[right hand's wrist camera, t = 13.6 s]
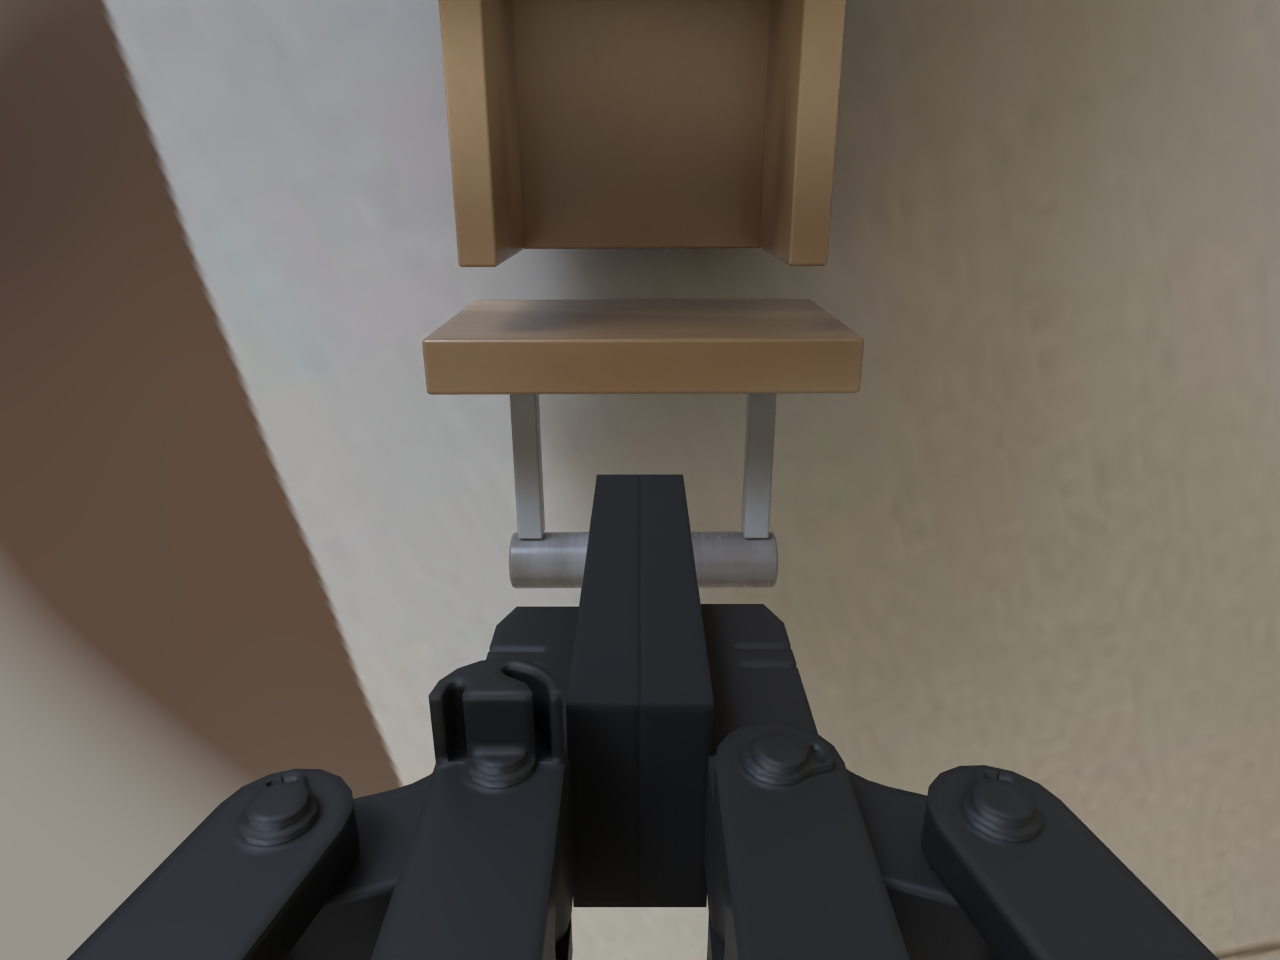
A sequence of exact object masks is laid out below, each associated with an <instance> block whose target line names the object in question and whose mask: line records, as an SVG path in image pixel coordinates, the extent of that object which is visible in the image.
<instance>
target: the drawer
mask: <svg viewBox="0 0 1280 960" xmlns="http://www.w3.org/2000/svg"><path fill="white" fill-rule="evenodd" d="M845 7H846V0H439V10H440V23H441V36H442V50H443V63H444V76H445V89H446V102H447V115H448V128H449V141H450V155H451V168H452V181H453V194H454V207H455V220H456V233H457V247H458V260H459V265H460V266H461V267H495V266H497V265H499V264H501V263H502V262H504V261H505V260H507V259H508V258H510V257H512V256H513V255H515V254H516V253H518V252H519V251H521V250H523V249H604V248H762V249H764V250H765V251H767V252H769V253H770V254H772V255H774V256H775V257H777V258H779V259H781V260H782V261H784V262H786V263H787V264H789V265H791V266H824V265H826V263H827V257H828V243H829V229H830V215H831V201H832V187H833V174H834V160H835V146H836V132H837V118H838V104H839V90H840V76H841V62H842V48H843V35H844V21H845ZM422 344H423V355H424V365H425V376H426V387H427V392H428V394H431V395H442V394H510V406H511V423H512V440H513V457H514V474H515V491H516V508H517V525H518V533H514V534H513V536H512V539H511V543H510V554H509V571H510V580H511V584H512V586H513V587H514V588H582V582H583V575H584V568H585V560H586V553H587V546H588V538H589V532H544V530H545V520H544V498H543V477H542V455H541V434H540V412H539V394H719V393H747V414H746V437H745V461H744V485H743V509H742V531H743V532H691V538H692V546H693V553H694V560H695V568H696V575H697V582H698V588H703V587H773V586H774V585H775V583H776V579H777V571H778V553H777V543H776V539H775V536H774V533H772V532H769V520H770V502H771V484H772V465H773V447H774V428H775V410H776V393H857V392H859V390H860V381H861V370H862V359H863V347H864V340H863V338H862V337H860V336H859V335H858V334H856V333H855V332H854V331H852V330H851V329H849V328H848V327H847V326H845V325H844V324H843V323H841V322H840V321H838V320H837V319H836V318H834V317H833V316H832V315H830V314H829V313H827V312H826V311H825V310H823V309H822V308H821V307H819V306H818V305H816V304H815V303H814V302H812V301H811V300H809V299H637V300H476V301H474V302H472V303H471V304H470V305H469V306H467V307H466V308H465V309H463V310H462V311H461V312H459V313H458V314H457V315H455V316H454V317H453V318H452V319H450V320H449V321H448V322H446V323H445V324H444V325H442V326H441V327H440V328H438V329H437V330H436V331H435V332H433V333H432V334H431V335H429V336H428V337H427V338H425V339H424V340H423V343H422Z"/></svg>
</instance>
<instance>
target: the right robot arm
mask: <svg viewBox="0 0 1280 960" xmlns="http://www.w3.org/2000/svg"><path fill="white" fill-rule="evenodd" d="M429 704H430V713H431V722H432V731H433V740H434V750H435V759H436V765H435V768H434V771H433V773H432V774H431V775H429V776H427V777H425V778H423V779H421V780H419V781H417V782H415V783H413V784H410V785H407V786H403V787H400V788H397V789H394V790H390V791H386V792H382V793H378V794H373V795H369V796H365V797H360V798H356V799H353V796H352V790H351V789H350V788H349V787H348V785H347V784H346V783H345V782H344V781H343V779H342V778H341V777H339V776H337V775H334V774H331V773H329V772H326V771H323V770H319V769H293V770H288V771H284V772H279V773H275V774H270V775H267V776H265V777H263V778H261V779H258V780H256V781H254V782H252V783H250V784H248V785H245V786H243V787H241V788H240V789H239V790H238V791H236V792H235V793H234V794H232V795H231V796H230V797H229V798H227V799H226V800H225V801H223V802H222V803H221V804H220V805H219V806H218V807H217V808H216V809H215V810H214V811H213V812H212V813H211V814H210V815H209V816H208V817H207V818H206V819H205V820H204V821H203V822H202V823H201V824H200V825H199V826H198V827H197V828H196V829H195V830H194V831H193V832H192V833H191V834H190V835H189V836H188V837H187V838H186V839H185V840H184V841H183V842H182V843H181V844H180V845H179V846H178V847H177V848H176V849H175V850H174V851H173V852H172V853H171V854H170V855H169V856H168V857H167V859H165V860H164V861H163V863H161V865H160V866H159V867H158V868H157V869H156V870H155V871H154V872H153V873H152V874H151V875H150V876H149V877H148V878H147V879H146V880H145V881H144V882H143V883H142V884H141V885H140V886H139V887H138V888H137V889H136V890H135V891H134V892H133V893H132V894H131V895H130V896H129V897H128V898H127V899H126V900H125V901H124V902H123V903H122V904H121V905H120V906H119V907H118V908H117V909H116V910H115V911H114V912H113V913H112V914H111V915H110V916H109V917H108V918H107V919H106V920H105V921H104V922H103V923H102V924H101V925H100V926H99V927H98V928H97V929H96V931H95V932H94V933H93V934H92V935H91V936H90V937H89V938H88V939H87V940H86V941H85V942H84V943H83V944H82V945H81V946H80V947H79V948H78V949H77V950H76V951H75V952H74V953H73V954H72V955H71V956H70V957H69V958H68V959H67V960H572V951H573V950H572V925H571V912H572V901H573V904H574V907H706V904H707V897H708V908H709V925H708V950H707V960H1219V959H1218V958H1217V957H1216V956H1215V955H1214V954H1213V953H1212V952H1211V951H1210V950H1209V949H1208V948H1207V947H1206V946H1205V945H1204V944H1203V943H1202V942H1201V941H1200V940H1199V939H1198V938H1197V937H1196V936H1195V935H1194V934H1193V933H1192V932H1191V931H1190V930H1189V929H1188V928H1187V927H1186V926H1185V925H1184V924H1183V923H1182V922H1181V921H1180V920H1179V919H1178V918H1177V917H1176V916H1175V915H1174V914H1173V913H1172V912H1171V911H1170V910H1169V909H1168V908H1167V907H1166V906H1165V905H1164V904H1163V903H1162V902H1161V901H1160V900H1159V899H1158V898H1157V897H1156V896H1155V895H1154V894H1153V893H1152V892H1151V891H1150V890H1149V889H1148V888H1147V887H1146V886H1145V885H1144V884H1143V883H1142V882H1141V881H1140V880H1139V879H1138V878H1137V877H1136V876H1135V875H1134V874H1133V873H1132V872H1131V871H1130V870H1129V869H1128V868H1127V867H1126V866H1125V865H1124V864H1123V863H1122V862H1121V861H1120V860H1119V859H1118V858H1117V857H1116V856H1115V855H1114V854H1113V853H1112V852H1111V851H1110V850H1109V849H1108V848H1107V847H1106V845H1105V844H1104V843H1103V842H1102V841H1101V840H1100V839H1099V838H1098V837H1097V836H1096V835H1095V834H1094V833H1093V832H1092V831H1091V830H1090V829H1089V828H1088V827H1087V826H1086V825H1085V824H1084V823H1083V822H1082V821H1081V820H1080V819H1079V818H1078V817H1077V816H1076V815H1075V814H1074V813H1073V812H1072V811H1071V810H1070V809H1069V808H1068V807H1067V806H1066V805H1065V804H1064V803H1063V802H1062V801H1061V800H1060V799H1058V798H1057V797H1056V796H1054V795H1053V794H1052V793H1050V792H1049V791H1048V790H1047V789H1045V788H1044V787H1043V786H1041V785H1040V784H1039V783H1037V782H1034V781H1032V780H1030V779H1028V778H1026V777H1023V776H1021V775H1019V774H1017V773H1015V772H1013V771H1008V770H1004V769H999V768H995V767H990V766H986V765H978V766H958V767H956V768H953V769H950V770H948V771H945V772H943V773H940V774H939V775H938V777H937V778H936V779H935V780H934V781H933V783H932V784H931V785H930V786H929V790H928V796H926V795H922V794H917V793H913V792H909V791H904V790H900V789H896V788H891V787H887V786H884V785H881V784H878V783H875V782H872V781H868V780H866V779H864V778H862V777H860V776H858V775H856V774H854V773H852V772H850V771H849V770H847V769H846V767H845V764H844V761H843V760H842V758H841V757H840V755H839V754H838V752H837V750H836V749H835V747H834V746H833V745H832V744H830V743H829V742H828V741H826V740H825V739H824V738H822V737H821V736H820V735H818V732H817V729H816V726H815V723H814V720H813V716H812V713H811V710H810V707H809V703H808V700H807V697H806V694H805V690H804V687H803V684H802V681H801V678H800V674H799V671H798V668H796V661H795V658H794V655H793V652H792V649H791V648H790V642H789V639H788V636H787V632H786V629H785V626H784V623H783V622H782V621H781V620H780V619H779V618H778V617H777V616H775V615H774V614H773V613H772V612H771V611H770V610H769V609H768V608H767V607H766V606H765V605H764V604H700V597H699V590H698V582H697V575H696V568H695V560H694V553H693V546H692V538H691V531H690V523H689V516H688V509H687V501H686V494H685V487H684V479H683V475H597V479H596V487H595V494H594V501H593V509H592V516H591V523H590V531H589V538H588V546H587V553H586V560H585V568H584V575H583V582H582V590H581V597H580V604H579V607H516V608H515V609H514V610H513V611H512V612H511V613H510V614H509V615H507V616H506V617H505V618H504V619H503V620H502V621H501V622H500V623H499V624H498V625H497V626H496V629H495V632H494V636H493V639H492V642H491V645H490V652H488V655H487V658H486V660H484V661H479V662H476V663H473V664H470V665H467V666H464V667H461V668H458V669H456V670H455V671H453V672H452V673H450V674H449V675H447V676H446V677H444V678H443V679H441V680H440V681H439V682H438V683H437V685H436V686H435V687H434V689H433V690H432V692H431V693H430V694H429Z"/></svg>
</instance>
